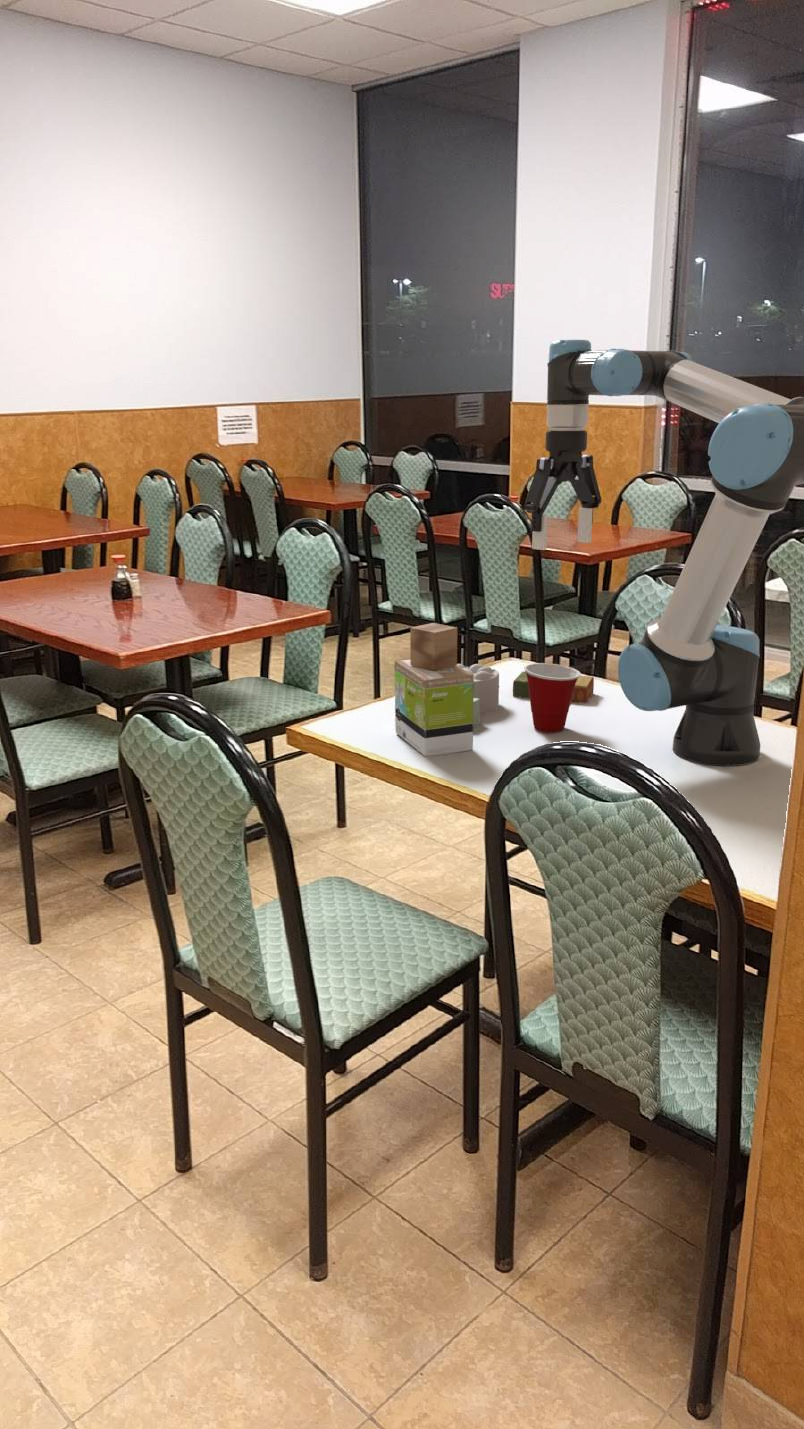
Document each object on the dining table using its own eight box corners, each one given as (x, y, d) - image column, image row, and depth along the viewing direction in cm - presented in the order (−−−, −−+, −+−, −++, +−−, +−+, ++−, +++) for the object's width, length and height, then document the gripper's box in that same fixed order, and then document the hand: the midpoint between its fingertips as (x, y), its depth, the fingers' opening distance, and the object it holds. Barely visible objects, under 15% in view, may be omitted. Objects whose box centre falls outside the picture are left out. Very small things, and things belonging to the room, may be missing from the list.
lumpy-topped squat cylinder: (430, 707, 224) (430, 667, 221) (477, 697, 231) (478, 657, 229) (463, 719, 216) (464, 677, 213) (510, 707, 224) (512, 667, 221)
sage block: (479, 723, 213) (479, 698, 212) (467, 729, 209) (467, 704, 208) (456, 719, 216) (457, 695, 215) (444, 725, 212) (445, 701, 210)
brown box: (456, 665, 198) (457, 627, 196) (434, 671, 194) (434, 632, 192) (433, 659, 202) (433, 622, 200) (410, 665, 198) (410, 627, 196)
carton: (586, 705, 226) (587, 685, 225) (511, 698, 232) (512, 679, 230) (593, 694, 234) (594, 675, 233) (520, 688, 239) (521, 669, 238)
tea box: (393, 734, 206) (392, 659, 202) (441, 728, 210) (441, 654, 206) (424, 758, 193) (424, 677, 189) (474, 751, 197) (476, 672, 192)
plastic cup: (577, 738, 203) (579, 676, 200) (519, 735, 206) (521, 674, 202) (579, 722, 214) (582, 663, 210) (524, 719, 216) (526, 660, 212)
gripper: (591, 427, 208) (586, 537, 214) (506, 430, 192) (503, 550, 198) (623, 428, 203) (617, 541, 209) (539, 431, 187) (535, 554, 193)
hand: (562, 546), depth 204 cm, fingers open, 13 cm apart
